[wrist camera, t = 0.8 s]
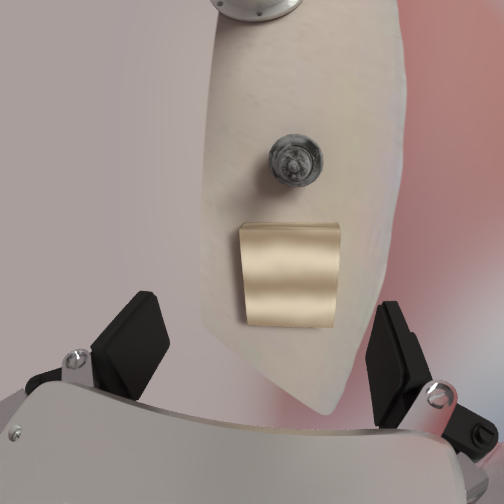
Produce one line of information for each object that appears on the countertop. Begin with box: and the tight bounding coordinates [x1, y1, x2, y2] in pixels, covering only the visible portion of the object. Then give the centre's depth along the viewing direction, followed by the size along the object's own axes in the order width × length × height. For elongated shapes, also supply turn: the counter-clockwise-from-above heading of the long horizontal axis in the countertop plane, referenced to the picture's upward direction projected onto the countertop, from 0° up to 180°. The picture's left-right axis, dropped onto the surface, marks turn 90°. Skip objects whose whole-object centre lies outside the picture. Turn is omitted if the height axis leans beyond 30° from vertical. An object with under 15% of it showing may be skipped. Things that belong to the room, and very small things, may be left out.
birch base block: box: [239, 222, 341, 328], centre depth 36 cm, size 14×12×3 cm
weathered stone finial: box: [269, 134, 323, 187], centre depth 26 cm, size 6×6×12 cm
